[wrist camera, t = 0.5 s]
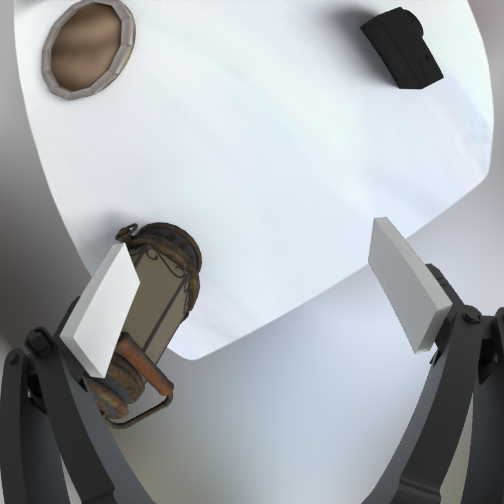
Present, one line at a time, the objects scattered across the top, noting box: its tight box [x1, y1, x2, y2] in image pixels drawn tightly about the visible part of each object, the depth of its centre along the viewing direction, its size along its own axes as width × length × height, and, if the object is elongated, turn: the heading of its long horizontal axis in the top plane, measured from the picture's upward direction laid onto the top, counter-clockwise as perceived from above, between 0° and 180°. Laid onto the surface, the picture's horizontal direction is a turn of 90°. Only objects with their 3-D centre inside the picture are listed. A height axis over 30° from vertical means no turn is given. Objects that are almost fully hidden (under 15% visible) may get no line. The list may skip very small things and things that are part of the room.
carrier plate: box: [42, 0, 136, 100], centre depth 28 cm, size 17×17×2 cm
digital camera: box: [360, 7, 444, 89], centre depth 25 cm, size 10×5×7 cm, turn 36°
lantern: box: [83, 222, 202, 429], centre depth 35 cm, size 18×15×30 cm
